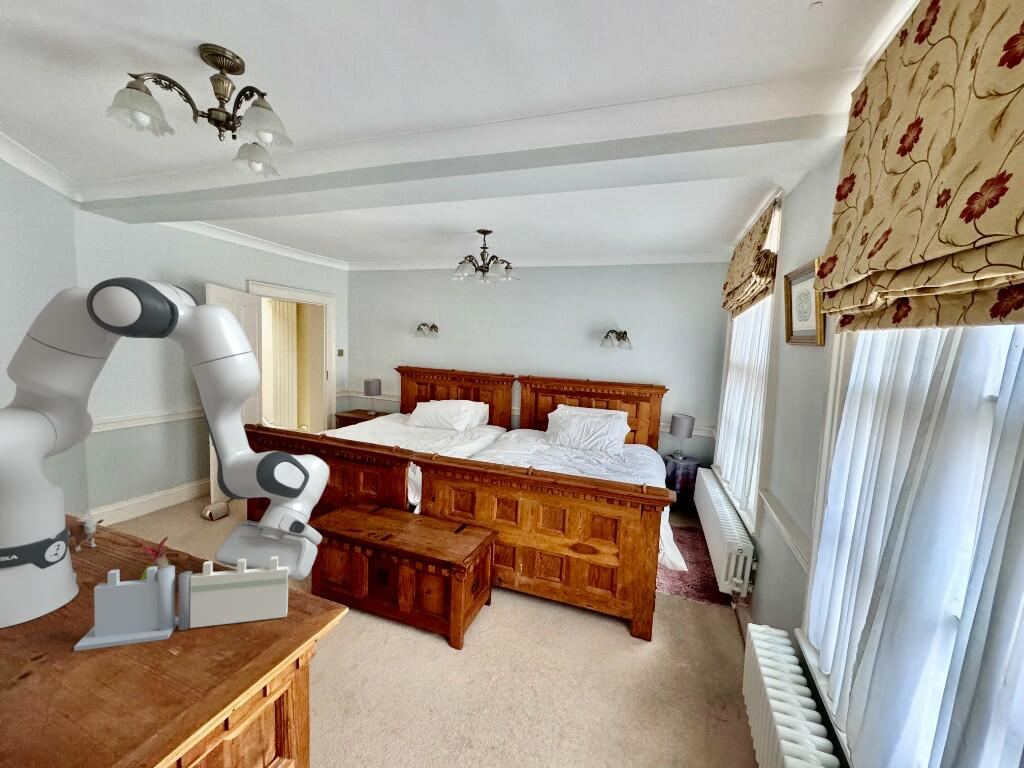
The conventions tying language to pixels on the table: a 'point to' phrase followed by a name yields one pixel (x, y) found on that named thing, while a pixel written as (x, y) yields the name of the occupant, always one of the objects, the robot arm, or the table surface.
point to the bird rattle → (156, 557)
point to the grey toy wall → (133, 610)
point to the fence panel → (232, 595)
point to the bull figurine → (82, 530)
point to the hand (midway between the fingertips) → (244, 595)
